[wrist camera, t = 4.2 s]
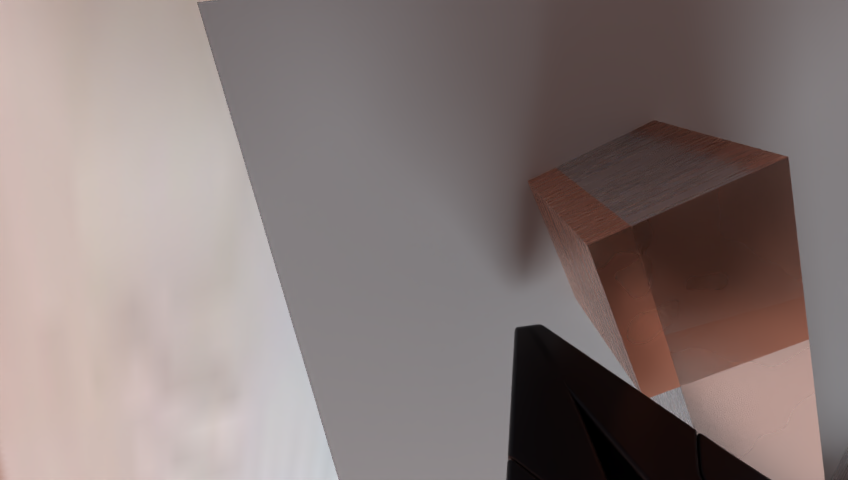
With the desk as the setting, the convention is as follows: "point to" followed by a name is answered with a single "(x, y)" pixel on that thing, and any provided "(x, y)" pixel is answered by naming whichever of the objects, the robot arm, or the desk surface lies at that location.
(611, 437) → the robot arm
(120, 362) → the desk surface
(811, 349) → the mat
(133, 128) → the desk surface
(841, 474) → the fixed tong arm
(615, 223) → the tong arm
